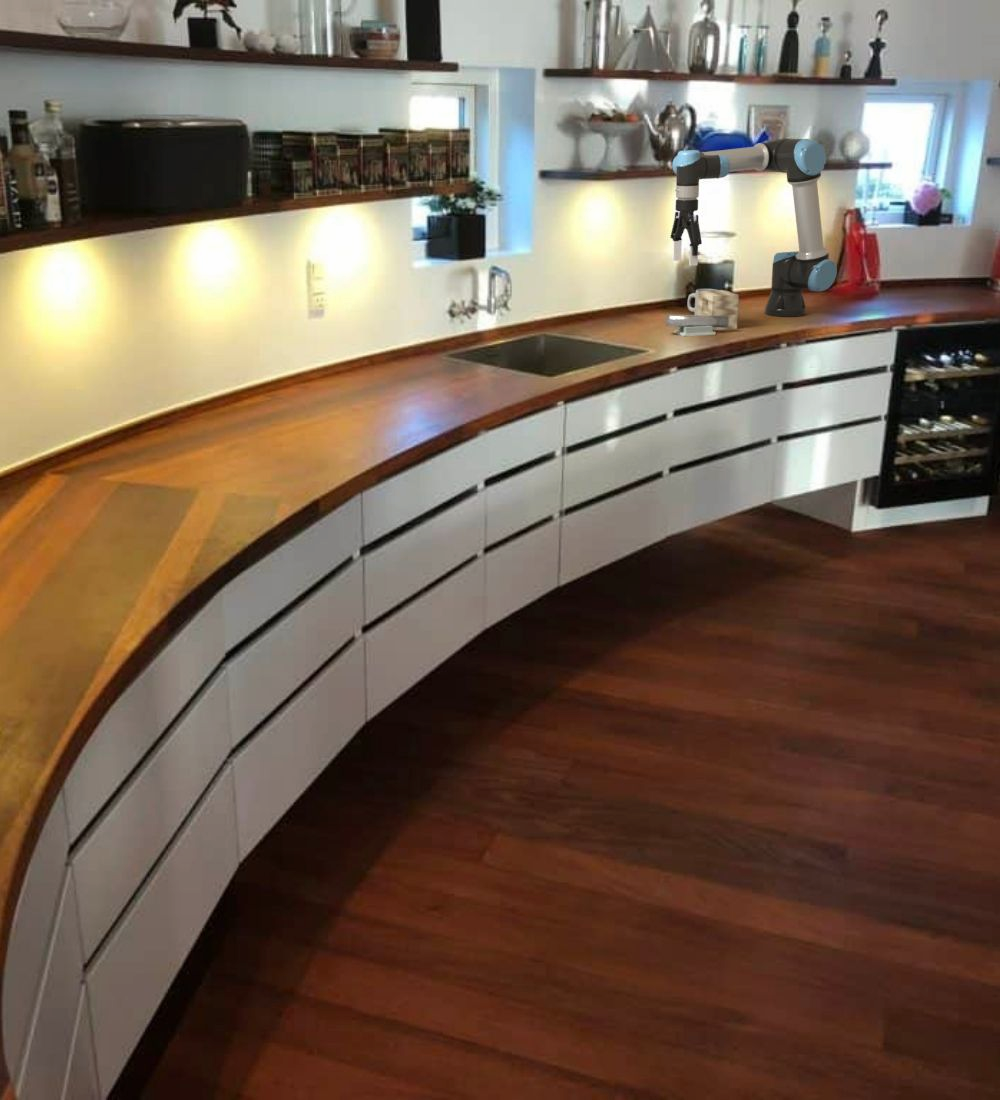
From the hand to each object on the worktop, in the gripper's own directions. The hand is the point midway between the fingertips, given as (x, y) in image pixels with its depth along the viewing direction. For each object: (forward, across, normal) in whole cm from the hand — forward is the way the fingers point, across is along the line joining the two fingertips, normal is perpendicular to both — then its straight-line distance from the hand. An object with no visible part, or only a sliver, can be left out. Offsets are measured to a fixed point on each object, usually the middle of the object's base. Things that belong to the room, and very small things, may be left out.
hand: (685, 263), depth 415 cm
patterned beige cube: (+24, -8, +17) cm, 31 cm away
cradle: (+24, +2, +4) cm, 25 cm away
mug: (+25, -23, +18) cm, 38 cm away
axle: (+20, +2, +5) cm, 21 cm away
